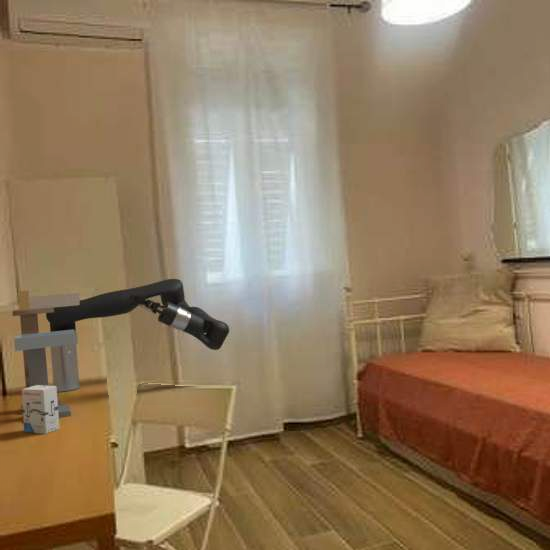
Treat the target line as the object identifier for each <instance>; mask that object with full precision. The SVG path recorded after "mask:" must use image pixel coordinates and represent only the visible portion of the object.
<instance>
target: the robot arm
mask: <svg viewBox="0 0 550 550" xmlns="http://www.w3.org/2000/svg"><path fill="white" fill-rule="evenodd" d="M158 296H159V297H160V301H161V302H158V301H154V300H152V299H151V298H153V297H158ZM185 298H186V297H185V291H184V283H183V281H182V280H180V279H177V278H168V279H163V280H160V281H156V282H153V283H149V284H145V285H141V286H137V287H131V288H126V289H120V290H119V289H118V290H114V291H110V292H109V291H108V292H104V293H102V294H97V295H94V296H92V297H88V298H84V299H79V302H80V305H75V306H64V307H54V312H52V313H45V317H46V320H47V321H48V323H49V329H50V330H49V332H55V331H64V330H75V332H77V329H76V328H77V326H76V323H77V322H80V321H83V320H88V319H97V318H100V319H101V318H108V317H114V316H115V317H116V316H120V315H125V314H128V313H130V312H132V311H133V310H135V309H136V308H138V306H139V307H141V308H143V309H144V310H145V311H148V312H150V313H151V314H154V315H156V313H157V314H158V317H157V321H158V322H159V323H162V325H163V324H164V325H166V326H168V327H170V328H172V329H176V330H178V331H181V332H183V333H185V334H188V335H191V336H192V337H195V339H197V340H198V341H200V342H201V343H202V344H203V345H205V347H207V349H209V350H212V351H218V350H220V349H221V347H222V346H223V344H224V342H225V340H226V338H227V337H228V335H229V333H230V327H229V325H228V324H227V323H226V322H224V321H222V320H219V319H216V318H213V317H212V316H210V314H208V312H206V311H205V310H203V309H202V308H200V307H199V306H190V305H189V304H188V302H187V301H186V299H185ZM161 304H162V305H161ZM49 348H50V359H51V360H50V361H51V371H52V372H51V374H52V384H53V385H52V386H56V387H57V393H58V392H60V393H61V392H68V391H74V390H77V389H80V374H79V364H78V363H79V362H78V352H77V351H78V350H77V344H72V345H63V346H55V347H49Z"/></svg>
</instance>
